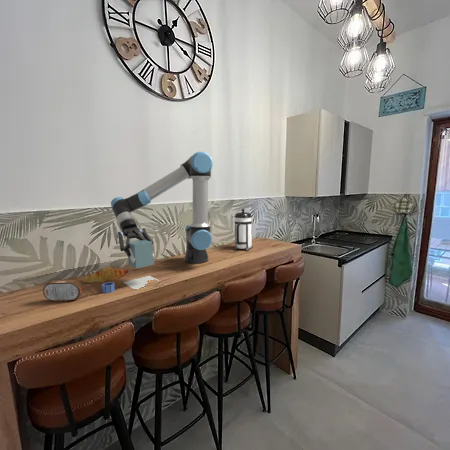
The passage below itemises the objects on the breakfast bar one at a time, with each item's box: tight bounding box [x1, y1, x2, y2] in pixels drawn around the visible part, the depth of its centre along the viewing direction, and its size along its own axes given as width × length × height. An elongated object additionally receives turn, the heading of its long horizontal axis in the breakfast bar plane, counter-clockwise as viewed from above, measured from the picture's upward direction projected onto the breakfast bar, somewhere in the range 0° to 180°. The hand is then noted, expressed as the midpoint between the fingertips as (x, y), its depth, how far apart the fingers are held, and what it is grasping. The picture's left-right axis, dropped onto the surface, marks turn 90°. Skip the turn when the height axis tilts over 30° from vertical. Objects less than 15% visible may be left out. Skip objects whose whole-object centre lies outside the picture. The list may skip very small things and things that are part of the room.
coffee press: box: [233, 208, 253, 252], centre depth 191 cm, size 17×16×30 cm
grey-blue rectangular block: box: [127, 240, 154, 270], centre depth 125 cm, size 9×9×11 cm
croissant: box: [82, 265, 129, 284], centre depth 133 cm, size 21×10×8 cm, turn 126°
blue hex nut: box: [101, 281, 116, 294], centre depth 116 cm, size 5×5×4 cm
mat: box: [122, 275, 159, 290], centre depth 127 cm, size 14×14×1 cm
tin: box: [42, 279, 84, 301], centre depth 108 cm, size 15×3×8 cm, turn 92°
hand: (143, 259), depth 122 cm, fingers closed on grey-blue rectangular block, 9 cm apart
